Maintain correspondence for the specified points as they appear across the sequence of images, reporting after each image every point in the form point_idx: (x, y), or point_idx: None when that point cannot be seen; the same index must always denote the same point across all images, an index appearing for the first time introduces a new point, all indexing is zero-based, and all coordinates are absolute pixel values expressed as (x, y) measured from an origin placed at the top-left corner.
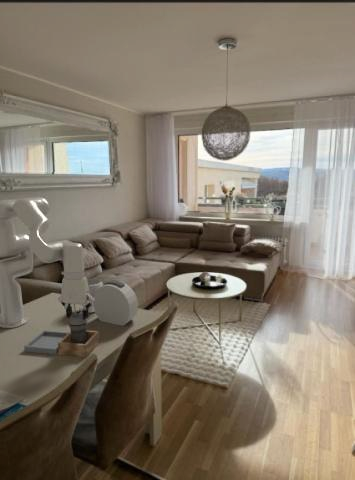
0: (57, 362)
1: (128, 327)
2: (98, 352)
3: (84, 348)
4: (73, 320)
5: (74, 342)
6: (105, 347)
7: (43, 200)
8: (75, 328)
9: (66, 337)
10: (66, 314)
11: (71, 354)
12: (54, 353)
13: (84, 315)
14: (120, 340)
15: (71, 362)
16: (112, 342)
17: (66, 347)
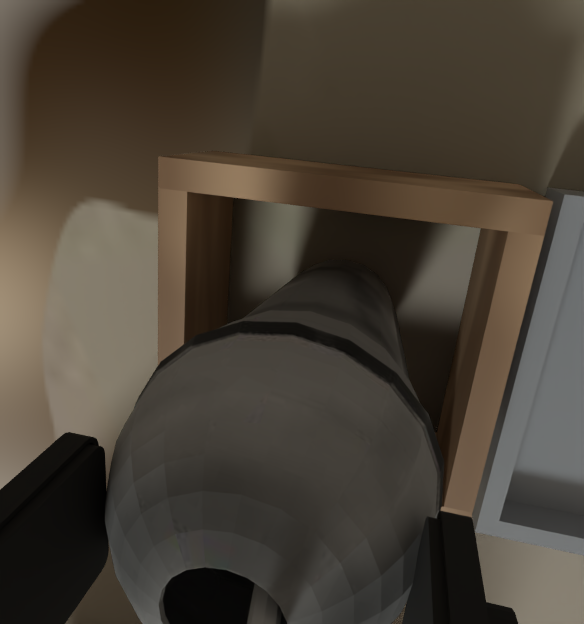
0: (480, 24)
1: (79, 603)
2: (148, 243)
3: (198, 158)
4: (274, 396)
5: (358, 281)
6: (124, 325)
7: None
8: (278, 316)
9: (479, 353)
10: (510, 618)
11: (370, 169)
12: (573, 191)
13: (10, 491)
14: (57, 428)
15: (328, 42)
16: (102, 401)
17: (423, 181)
